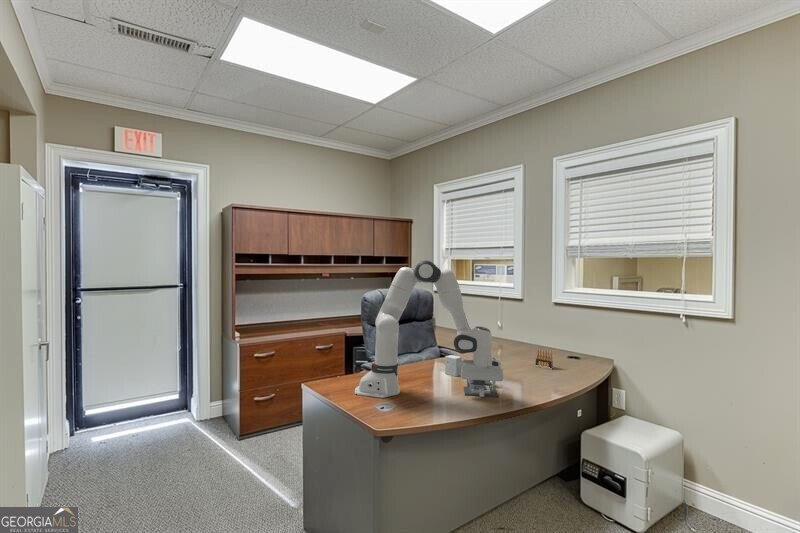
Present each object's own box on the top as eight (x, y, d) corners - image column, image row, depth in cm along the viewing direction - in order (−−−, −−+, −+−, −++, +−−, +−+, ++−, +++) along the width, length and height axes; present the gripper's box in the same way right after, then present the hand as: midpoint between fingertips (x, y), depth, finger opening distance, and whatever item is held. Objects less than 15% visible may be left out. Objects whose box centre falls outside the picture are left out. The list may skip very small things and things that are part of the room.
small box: (461, 375, 234) (462, 357, 234) (456, 377, 230) (456, 358, 230) (450, 372, 239) (450, 354, 239) (444, 374, 235) (445, 356, 235)
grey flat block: (472, 396, 193) (472, 390, 193) (470, 387, 207) (470, 381, 207) (491, 397, 192) (491, 391, 192) (488, 388, 206) (488, 382, 206)
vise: (467, 386, 212) (468, 346, 212) (466, 381, 222) (467, 342, 222) (490, 387, 210) (491, 347, 210) (488, 382, 220) (489, 343, 220)
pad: (464, 395, 197) (464, 393, 197) (463, 388, 209) (463, 386, 209) (498, 397, 195) (498, 395, 195) (495, 389, 207) (495, 388, 207)
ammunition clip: (552, 369, 251) (553, 350, 250) (551, 369, 249) (551, 350, 249) (536, 365, 258) (537, 347, 258) (535, 366, 257) (535, 347, 257)
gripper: (460, 361, 193) (459, 389, 193) (504, 363, 191) (503, 392, 191) (460, 358, 199) (459, 385, 200) (502, 360, 197) (501, 388, 197)
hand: (481, 389), depth 195 cm, fingers open, 8 cm apart
